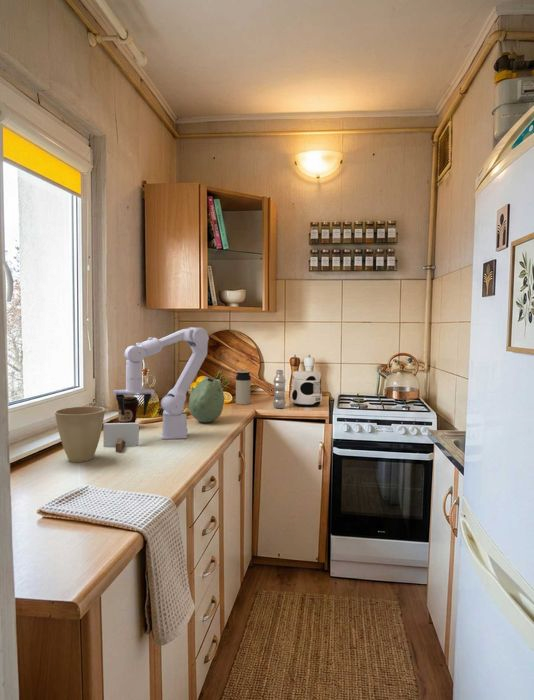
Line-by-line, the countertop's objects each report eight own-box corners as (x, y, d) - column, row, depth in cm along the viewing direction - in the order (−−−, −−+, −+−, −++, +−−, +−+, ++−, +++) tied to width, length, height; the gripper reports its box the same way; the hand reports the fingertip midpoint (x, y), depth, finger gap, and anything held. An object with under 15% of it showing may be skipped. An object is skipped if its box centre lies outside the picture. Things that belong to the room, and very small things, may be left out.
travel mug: (238, 405, 255) (239, 371, 254) (233, 402, 262) (234, 370, 261) (252, 404, 258) (252, 371, 257) (247, 402, 265) (247, 370, 264)
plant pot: (108, 451, 162) (108, 405, 161) (100, 465, 147) (100, 414, 146) (61, 453, 159) (61, 406, 158) (49, 466, 145) (49, 415, 144)
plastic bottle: (286, 407, 251) (287, 369, 250) (283, 409, 245) (283, 371, 243) (275, 406, 253) (276, 369, 252) (271, 408, 247) (271, 370, 245)
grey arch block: (138, 444, 172) (138, 422, 171) (138, 445, 170) (138, 423, 170) (104, 445, 170) (104, 423, 169) (103, 446, 168) (103, 424, 168)
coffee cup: (132, 431, 191) (132, 399, 190) (113, 430, 193) (113, 398, 192) (142, 426, 200) (142, 396, 199) (123, 425, 201) (123, 395, 201)
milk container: (291, 401, 270) (292, 370, 269) (322, 403, 267) (323, 371, 266) (288, 407, 253) (289, 373, 251) (321, 408, 250) (322, 374, 249)
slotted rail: (125, 439, 179) (125, 431, 179) (120, 452, 161) (120, 443, 161) (121, 439, 179) (121, 431, 178) (115, 452, 161) (115, 443, 161)
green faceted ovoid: (182, 425, 204) (182, 379, 202) (196, 416, 222) (196, 374, 221) (217, 427, 201) (218, 380, 200) (228, 418, 220) (229, 375, 218)
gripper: (154, 376, 180) (154, 412, 181) (114, 377, 178) (114, 412, 178) (153, 379, 174) (153, 415, 174) (112, 379, 171) (112, 416, 172)
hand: (133, 414), depth 176 cm, fingers open, 7 cm apart
